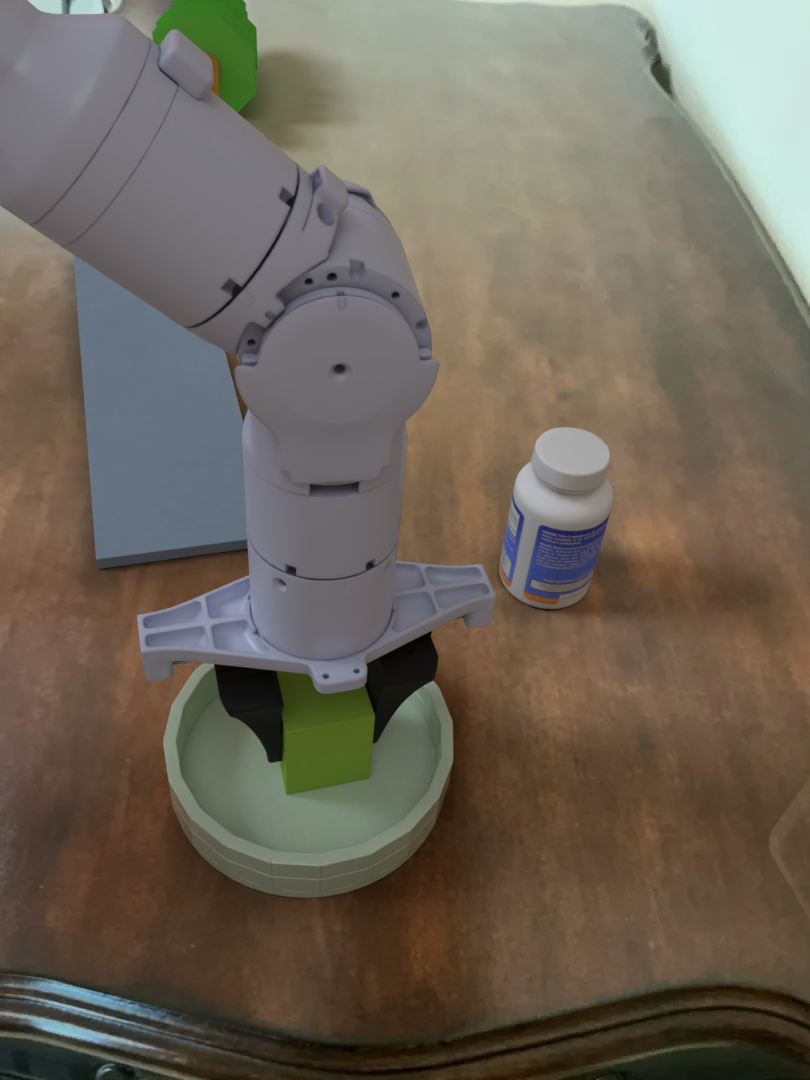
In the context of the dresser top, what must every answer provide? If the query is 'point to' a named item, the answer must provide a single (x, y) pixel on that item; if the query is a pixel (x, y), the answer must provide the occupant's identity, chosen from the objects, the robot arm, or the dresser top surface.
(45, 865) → the dresser top surface
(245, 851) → the basin
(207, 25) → the decorative tree
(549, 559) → the pill bottle
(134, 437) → the mat
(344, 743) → the cube
